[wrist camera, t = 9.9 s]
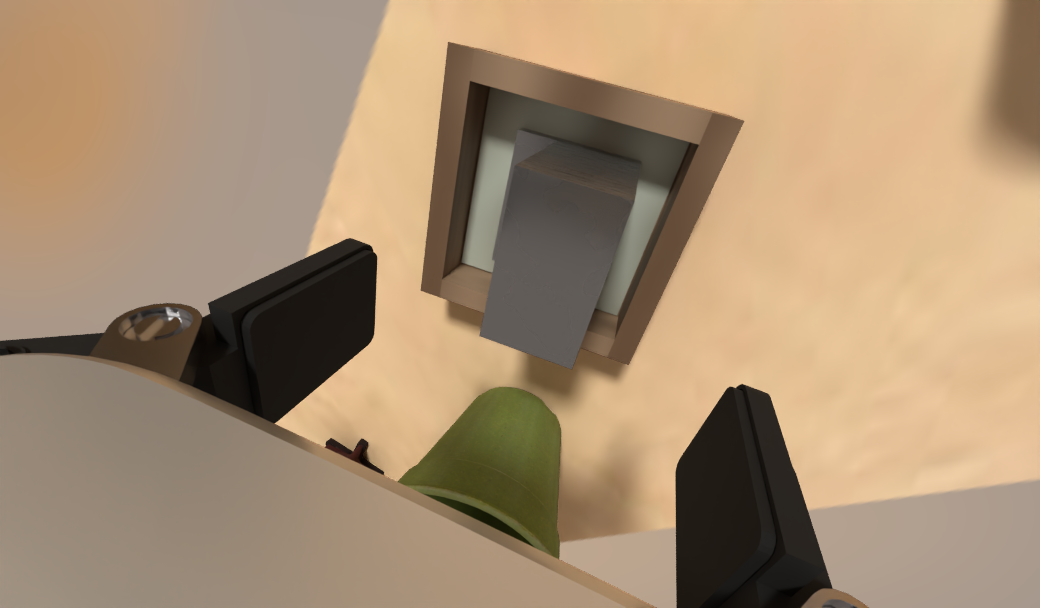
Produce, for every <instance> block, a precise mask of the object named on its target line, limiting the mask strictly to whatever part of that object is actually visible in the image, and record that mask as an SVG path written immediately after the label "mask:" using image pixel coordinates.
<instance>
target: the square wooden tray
mask: <svg viewBox="0 0 1040 608" xmlns="http://www.w3.org/2000/svg"><path fill="white" fill-rule="evenodd" d="M743 123H744V121H743V120H740V119H737V118H735V117H732V116H729V115H726V114H722V113H718V112H714V111H711V110H707V109H703V108H699V107H696V106H692V105H688V104H684V103H681V102H677V101H673V100H669V99H666V98H662V97H658V96H654V95H651V94H647V93H643V92H639V91H636V90H632V89H628V88H624V87H621V86H617V85H613V84H610V83H606V82H602V81H598V80H595V79H591V78H587V77H583V76H580V75H576V74H572V73H568V72H565V71H561V70H557V69H553V68H550V67H546V66H542V65H538V64H535V63H531V62H527V61H523V60H520V59H516V58H512V57H508V56H505V55H501V54H497V53H493V52H490V51H486V50H482V49H478V48H474V47H469V46H464V45H460V44H455V43H451V42H448V48H447V57H446V66H445V75H444V84H443V93H442V102H441V111H440V120H439V129H438V139H437V148H436V157H435V166H434V175H433V184H432V193H431V202H430V211H429V220H428V229H427V238H426V248H425V257H424V266H423V275H422V284H421V291H424V292H426V293H429V294H432V295H435V296H438V297H440V298H443V299H446V300H449V301H451V302H454V303H457V304H460V305H463V306H465V307H468V308H471V309H474V310H477V311H479V312H482V313H484V311H485V307H486V302H487V297H488V292H489V287H490V282H491V277H492V272H493V268H494V263H495V261H494V260H492V256H493V251H494V246H495V241H496V236H497V231H498V226H499V221H500V216H501V211H502V206H503V201H504V196H505V191H506V186H507V181H508V176H509V171H510V166H511V161H512V156H513V151H514V146H515V141H516V136H517V131H518V129H521V128H526V129H530V130H533V131H537V132H540V133H544V134H547V135H551V136H554V137H558V138H562V139H565V140H569V141H572V142H576V143H579V144H583V145H586V146H590V147H593V148H597V149H600V150H604V151H607V152H611V153H614V154H618V155H622V156H625V157H629V158H632V159H636V160H639V161H641V166H640V172H639V178H638V184H637V190H636V196H635V202H634V204H633V207H632V210H631V212H630V215H629V218H628V220H627V223H626V226H625V228H624V231H623V234H622V237H621V239H620V242H619V245H618V247H617V250H616V253H615V255H614V258H613V261H612V263H611V266H610V269H609V271H608V274H607V277H606V279H605V282H604V285H603V287H602V290H601V293H600V296H599V298H598V301H597V304H596V306H595V309H594V312H593V314H592V317H591V320H590V322H589V325H588V328H587V330H586V333H585V336H584V338H583V341H582V344H581V346H580V348H582V349H585V350H588V351H591V352H593V353H596V354H599V355H602V356H605V357H607V358H610V359H613V360H616V361H619V362H621V363H624V364H627V365H629V363H630V361H631V359H632V357H633V355H634V353H635V350H636V348H637V346H638V344H639V342H640V340H641V338H642V336H643V334H644V331H645V329H646V327H647V325H648V323H649V321H650V319H651V317H652V315H653V312H654V310H655V308H656V306H657V304H658V302H659V300H660V298H661V296H662V293H663V291H664V289H665V287H666V285H667V283H668V281H669V279H670V277H671V274H672V272H673V270H674V268H675V266H676V264H677V262H678V260H679V258H680V255H681V253H682V251H683V249H684V247H685V245H686V243H687V241H688V239H689V237H690V234H691V232H692V230H693V228H694V226H695V224H696V222H697V220H698V218H699V215H700V213H701V211H702V209H703V207H704V205H705V203H706V201H707V199H708V196H709V194H710V192H711V190H712V188H713V186H714V184H715V182H716V180H717V177H718V175H719V173H720V171H721V169H722V167H723V165H724V163H725V161H726V158H727V156H728V154H729V152H730V150H731V148H732V146H733V144H734V142H735V139H736V137H737V135H738V133H739V131H740V129H741V127H742V125H743Z"/></svg>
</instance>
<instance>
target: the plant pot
mask: <svg viewBox="0 0 1040 608" xmlns="http://www.w3.org/2000/svg"><path fill="white" fill-rule="evenodd" d="M560 444H561V428H560V424H559V421H558V419H557V417H556V415H555V414H553V413H552V412H551V411H550V410H549V409H548V407H547V406H546V405H545V404H544V403H543V401H542V400H541V399H539V398H538V397H536V396H535V395H533V394H531V393H529V392H526V391H524V390H520V389H517V388H510V387H499V388H494V389H491V390H489V391H487V392H485V393H483V394H482V395H480V396H478V397H477V398H476V399H475V400H474V401H473V403H472V404H471V405H470V406H469V407H468V408H467V409H466V410H465V412H464V413H463V414H462V415H461V416H460V417H459V418H458V420H457V421H456V422H455V423H454V424H453V425H452V426H451V427H450V429H449V430H448V431H447V432H446V433H445V434H444V435H443V436H442V438H441V439H440V440H439V441H438V442H437V443H436V444H435V446H434V447H433V448H432V449H431V450H430V451H429V452H428V453H427V455H426V456H425V457H424V458H423V459H422V460H421V461H420V462H419V463H418V465H416V466H414V467H412V468H411V469H409V470H408V471H407V472H406V473H405V474H404V475H403V476H402V478H401V479H400V480H399V481H398V482H399V483H401V484H403V485H405V486H407V487H409V488H411V489H413V490H415V491H418V492H420V493H422V494H424V495H426V496H428V497H430V498H432V499H434V500H436V501H438V502H441V503H443V504H445V505H447V506H449V507H451V508H453V509H455V510H457V511H459V512H461V513H464V514H466V515H468V516H470V517H472V518H474V519H476V520H478V521H480V522H482V523H485V524H487V525H489V526H491V527H493V528H495V529H497V530H499V531H501V532H503V533H505V534H507V535H509V536H511V537H513V538H516V539H518V540H520V541H522V542H524V543H526V544H528V545H530V546H532V547H534V548H536V549H538V550H540V551H542V552H545V553H547V554H549V555H551V556H553V557H555V558H557V559H559V546H560V542H559V535H558V531H557V512H558V490H559V466H560Z"/></svg>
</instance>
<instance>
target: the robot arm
mask: <svg viewBox="0 0 1040 608" xmlns="http://www.w3.org/2000/svg"><path fill="white" fill-rule="evenodd" d="M376 277H377V255H376V254H375V253H374V252H373V249H372V247H371V246H370V245H368V244H365V243H362V242H360V241H357V240H354V239H351V238H349V239H346V240H344V241H341V242H339V243H337V244H335V245H333V246H331V247H328V248H326V249H324V250H322V251H320V252H318V253H315V254H313V255H311V256H309V257H307V258H305V259H303V260H300V261H298V262H296V263H294V264H292V265H290V266H288V267H285V268H283V269H281V270H279V271H277V272H275V273H272V274H270V275H268V276H266V277H264V278H261V279H259V280H257V281H255V282H253V283H251V284H248V285H246V286H245V287H242V288H240V289H238V290H236V291H233V292H231V293H229V294H227V295H225V296H223V297H220V298H218V299H216V300H214V301H212V302H210V303H208V305H209V310H210V314H209V315H207V316H205V317H203V318H202V315H201V314H200V312H199V311H198V310H197V309H195V308H193V307H191V306H187V305H183V304H175V303H163V304H153V305H148V306H144V307H139V308H136V309H134V310H131V311H128V312H126V313H124V314H123V315H121V316H119V317H117V318H116V319H115V320H114V321H113V322H112V323H111V324H110V325H109V326H108V328H107V329H106V331H105V332H104V333H99V334H85V335H72V336H58V337H45V338H33V339H19V340H6V341H0V608H656V607H654V606H652V605H650V604H648V603H646V602H644V601H642V600H640V599H638V598H636V597H634V596H632V595H630V594H628V593H626V592H624V591H622V590H620V589H619V588H616V587H615V586H613V585H611V584H609V583H607V582H605V581H602V580H600V579H598V578H596V577H594V576H592V575H590V574H588V573H586V572H584V571H582V570H580V569H577V568H575V567H573V566H571V565H569V564H567V563H565V562H563V561H561V560H559V559H557V558H555V557H553V556H551V555H549V554H547V553H545V552H542V551H540V550H538V549H536V548H534V547H532V546H530V545H528V544H526V543H524V542H522V541H520V540H518V539H516V538H513V537H511V536H509V535H507V534H505V533H503V532H501V531H499V530H497V529H495V528H493V527H491V526H489V525H487V524H485V523H482V522H480V521H478V520H476V519H474V518H472V517H470V516H468V515H466V514H464V513H461V512H459V511H457V510H455V509H453V508H451V507H449V506H447V505H445V504H443V503H441V502H438V501H436V500H434V499H432V498H430V497H428V496H426V495H424V494H422V493H420V492H418V491H415V490H413V489H411V488H409V487H407V486H405V485H403V484H401V483H399V482H397V481H394V480H392V479H390V478H388V477H386V476H384V475H382V474H380V473H378V472H376V471H373V470H371V469H369V468H367V467H365V466H363V465H361V464H359V463H357V462H354V461H352V460H350V459H348V458H346V457H344V456H342V455H340V454H338V453H335V452H333V451H331V450H329V449H327V448H325V447H323V446H321V445H318V444H316V443H314V442H312V441H310V440H308V439H306V438H303V437H301V436H299V435H297V434H295V433H293V432H291V431H289V430H286V429H284V428H282V427H280V426H278V425H276V424H274V423H276V422H277V421H278V420H280V419H281V418H282V417H283V416H284V415H286V414H287V413H288V412H289V411H290V410H291V409H293V408H294V407H295V406H296V405H297V404H299V403H300V402H301V401H302V400H303V399H305V398H306V397H307V396H308V395H309V394H310V393H312V392H313V391H314V390H315V389H316V388H318V387H319V386H320V385H321V384H322V383H324V382H325V381H326V380H327V379H328V378H329V377H331V376H332V375H333V374H334V373H335V372H337V371H338V370H339V369H340V368H341V367H342V366H344V365H345V364H346V363H347V362H348V361H350V360H351V359H352V358H353V357H354V356H356V355H357V354H358V353H359V352H360V351H361V350H363V349H364V348H365V347H366V346H367V345H368V344H369V343H370V342H371V341H372V339H373V336H374V328H375V303H376ZM676 583H677V584H676V586H677V608H869V607H867V606H866V605H865V604H863V603H862V602H861V601H859V600H857V599H856V598H854V597H852V596H851V595H849V594H847V593H844V592H841V591H839V590H836V589H833V588H832V585H831V582H830V579H829V576H828V573H827V570H826V566H825V563H824V560H823V557H822V554H821V551H820V548H819V544H818V542H817V538H816V535H815V532H814V529H813V526H812V523H811V519H810V516H809V513H808V510H807V507H806V504H805V501H804V498H803V494H802V491H801V488H800V485H799V482H798V479H797V476H796V473H795V471H794V469H793V467H792V464H791V461H790V457H789V454H788V451H787V448H786V445H785V442H784V438H783V435H782V432H781V429H780V426H779V423H778V419H777V416H776V413H775V410H774V407H773V404H772V401H771V397H770V396H769V394H767V393H765V392H762V391H760V390H757V389H754V388H751V387H749V386H746V385H743V384H741V385H739V386H737V388H734V387H729V388H727V390H726V391H725V392H724V394H723V395H722V397H721V398H720V400H719V401H718V403H717V404H716V406H715V407H714V409H713V410H712V412H711V413H710V415H709V416H708V418H707V419H706V421H705V422H704V424H703V425H702V427H701V428H700V430H699V431H698V433H697V434H696V436H695V437H694V439H693V440H692V441H691V443H690V444H689V446H688V447H687V449H686V450H685V452H684V453H683V455H682V456H681V458H680V460H679V462H678V464H677V468H676Z"/></svg>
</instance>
